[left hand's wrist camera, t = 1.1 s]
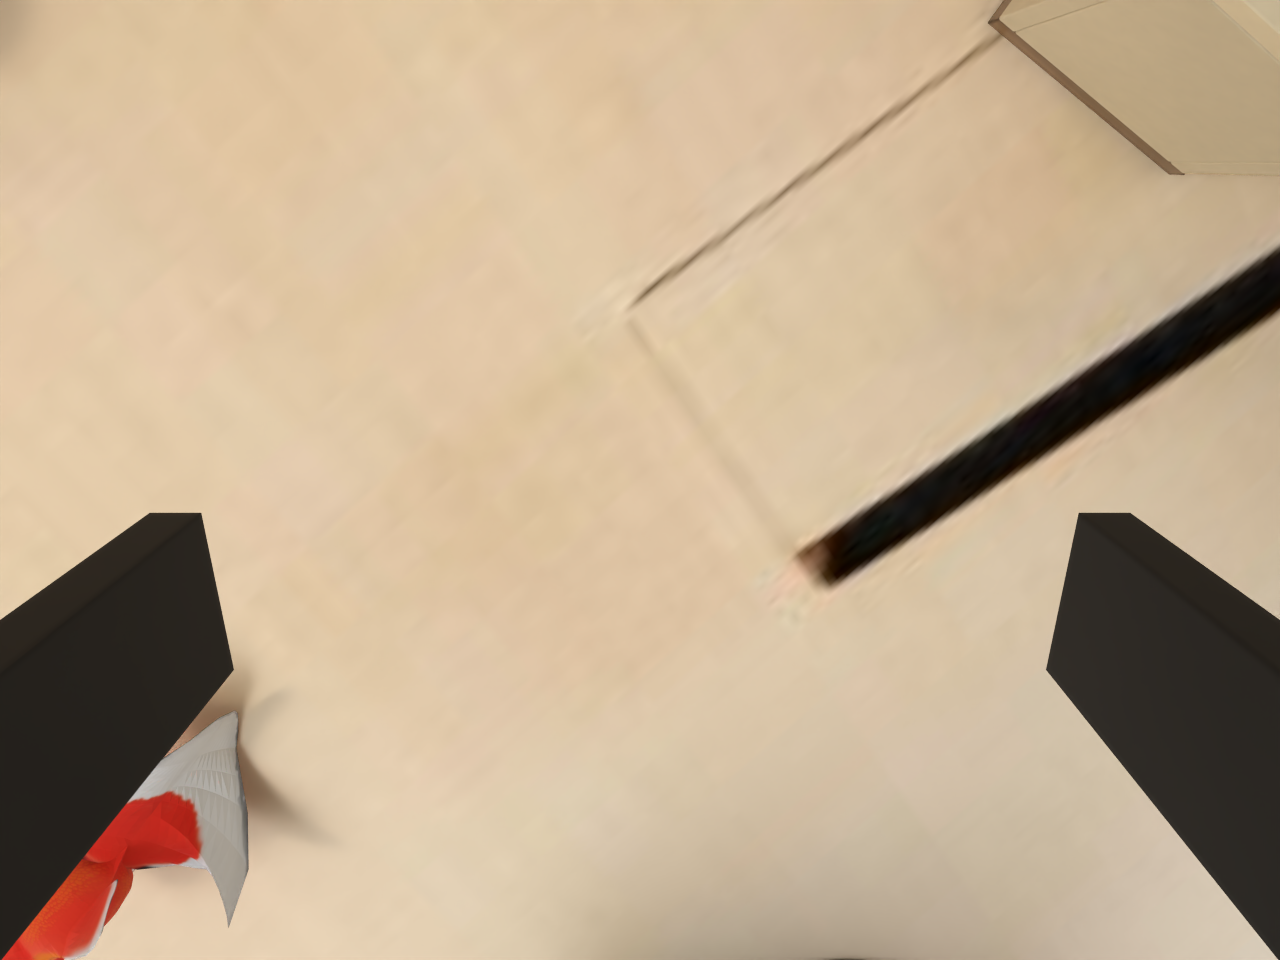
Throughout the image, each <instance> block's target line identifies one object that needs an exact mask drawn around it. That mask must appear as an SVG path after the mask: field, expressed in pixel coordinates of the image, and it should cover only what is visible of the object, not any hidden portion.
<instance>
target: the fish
mask: <svg viewBox="0 0 1280 960" xmlns="http://www.w3.org/2000/svg"><path fill="white" fill-rule="evenodd" d="M237 737H238V713H237V712H236V711H233V712H231V713H229V714H226V715H224V716H222V717H220V718H218V719H217V720H216V721H214V722H213V723H212V724H210V725H209V726H208V727H206V728H205V729H204V730H202V731H201V732H200V733H199V734H198V735H196V736H195V737H194V738H193V739H191V740H190V741H189V742H187V743H186V744H184V745H183V746H181V747H180V748H178V749H177V750H175V751H174V752H172V753H171V754H169V755H167V756H166V757H164V758H163V759H162V760H161V761H160V763H159V764H158V765H157V766H156V768H155V769H154V770H153V771H152V773H151V774H150V775H149V776H148V778H147V779H146V780H145V781H144V783H143V784H142V785H141V786H140V788H139V789H138V790H137V791H136V793H135V794H134V795H133V796H132V798H131V799H130V800H129V801H128V803H127V804H126V805H125V806H124V808H123V809H122V810H121V811H120V812H119V814H118V815H117V816H116V817H115V819H114V820H113V821H112V822H111V824H110V825H109V826H108V827H107V829H106V830H105V831H104V832H103V834H102V835H101V836H100V837H99V839H98V840H97V841H96V842H95V844H94V845H93V846H92V847H91V849H90V850H89V851H88V852H87V854H86V855H85V856H84V857H83V859H82V860H81V861H80V862H79V864H78V865H77V866H76V867H75V869H74V870H73V871H72V872H71V874H70V875H69V876H68V877H67V879H66V880H65V881H64V882H63V884H62V885H61V886H60V887H59V889H58V890H57V891H56V892H55V894H54V895H53V896H52V897H51V899H50V900H49V901H48V902H47V904H46V905H45V906H44V907H43V909H42V910H41V911H40V912H39V914H38V915H37V916H36V917H35V919H34V920H33V921H32V922H31V924H30V925H29V926H28V927H27V929H26V930H25V931H24V932H23V934H22V935H21V936H20V937H19V939H18V940H17V941H16V942H15V944H14V945H13V946H12V947H11V949H10V950H9V951H8V952H7V954H6V955H5V956H4V957H3V959H2V960H64V959H65V960H74V959H77V958H81V957H84V956H86V955H87V954H88V953H89V952H90V951H91V950H92V949H93V948H94V947H95V945H96V943H97V941H98V939H99V937H100V936H101V933H102V931H103V927H104V926H105V925H106V924H107V923H108V922H109V921H110V919H111V918H112V917H113V916H114V915H115V913H116V912H117V911H118V909H119V908H120V906H121V904H122V903H123V901H124V899H125V898H126V896H127V894H128V893H129V891H130V889H131V886H132V881H133V871H134V870H135V869H137V870H138V869H147V868H156V867H164V866H172V865H181V866H186V867H192V868H200V869H207V870H208V872H209V873H210V874H211V875H212V876H213V878H214V880H215V882H216V885H217V887H218V889H219V892H220V895H221V897H222V900H223V903H224V907H225V911H226V914H227V921H228V928H229V925H230V922H231V919H232V916H233V913H234V910H235V907H236V904H237V902H238V899H239V896H240V893H241V890H242V887H243V884H244V881H245V878H246V875H247V872H248V812H247V807H246V801H245V795H244V790H243V784H242V779H241V773H240V767H239V761H238V755H237V750H236V745H237Z"/></svg>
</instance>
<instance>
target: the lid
mask: <svg viewBox="0 0 1280 960" xmlns="http://www.w3.org/2000/svg"><path fill="white" fill-rule="evenodd" d="M1213 1H1214V2H1215V3H1216V4H1217V5H1218V6H1220V7H1221V8H1222V9H1223V10H1224V11H1225V12H1226V13H1227V14H1228V15H1229V16H1231V17H1232V18H1233V19H1234V20H1235V21H1236V22H1237V23H1238V24H1239V25H1240V26H1242V27H1243V28H1244V29H1245V30H1246V31H1247V32H1248V33H1249V34H1250V35H1252V36H1253V37H1254V38H1255V39H1256V40H1257V41H1258V42H1259V43H1260V44H1261V45H1263V46H1264V47H1265V48H1266V49H1267V50H1268V51H1269V52H1270V53H1271V54H1272V55H1274V56H1275V57H1276V58H1277V59H1278V60H1279V61H1280V0H1213Z"/></svg>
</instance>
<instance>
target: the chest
mask: <svg viewBox="0 0 1280 960" xmlns="http://www.w3.org/2000/svg"><path fill="white" fill-rule="evenodd" d="M988 24H990V25H991V26H992V27H993V28H994V29H996V30H997V31H998V32H999V33H1000V34H1002V35H1003V36H1004V37H1005V38H1006V39H1008V40H1009V41H1010V42H1011V43H1012V44H1014V45H1015V46H1016V47H1017V48H1018V49H1020V50H1021V51H1022V52H1023V53H1024V54H1026V55H1027V56H1028V57H1029V58H1030V59H1032V60H1033V61H1034V62H1035V63H1036V64H1038V65H1039V66H1040V67H1041V68H1042V69H1044V70H1045V71H1046V72H1047V73H1048V74H1050V75H1051V76H1052V77H1053V78H1054V79H1056V80H1057V81H1058V82H1059V83H1060V84H1062V85H1063V86H1064V87H1065V88H1066V89H1068V90H1069V91H1070V92H1071V93H1072V94H1074V95H1075V96H1076V97H1077V98H1078V99H1080V100H1081V101H1082V102H1083V103H1084V104H1086V105H1087V106H1088V107H1089V108H1090V109H1092V110H1093V111H1094V112H1095V113H1096V114H1098V115H1099V116H1100V117H1101V118H1102V119H1104V120H1105V121H1106V122H1107V123H1108V124H1110V125H1111V126H1112V127H1113V128H1114V129H1116V130H1117V131H1118V132H1119V133H1120V134H1122V135H1123V136H1124V137H1125V138H1126V139H1128V140H1129V141H1130V142H1131V143H1132V144H1134V145H1135V146H1136V147H1137V148H1138V149H1140V150H1141V151H1142V152H1143V153H1144V154H1146V155H1147V156H1148V157H1149V158H1150V159H1152V160H1153V161H1154V162H1155V163H1156V164H1158V165H1159V166H1160V167H1161V168H1162V169H1164V170H1165V171H1166V172H1167V173H1168V174H1173V175H1184V174H1221V175H1260V176H1280V61H1279V60H1278V59H1277V58H1276V57H1275V56H1274V55H1272V54H1271V53H1270V52H1269V51H1268V50H1267V49H1266V48H1265V47H1264V46H1263V45H1261V44H1260V43H1259V42H1258V41H1257V40H1256V39H1255V38H1254V37H1253V36H1252V35H1250V34H1249V33H1248V32H1247V31H1246V30H1245V29H1244V28H1243V27H1242V26H1240V25H1239V24H1238V23H1237V22H1236V21H1235V20H1234V19H1233V18H1232V17H1231V16H1229V15H1228V14H1227V13H1226V12H1225V11H1224V10H1223V9H1222V8H1221V7H1220V6H1218V5H1217V4H1216V3H1215V2H1214V1H1213V0H1004V1H1003V2H1002V4H1001V5H1000V7H999V8H998V9H997V11H996V12H995V14H994V15H993V16H992V18H991V19H990V21H989V22H988Z"/></svg>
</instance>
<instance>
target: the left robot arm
mask: <svg viewBox="0 0 1280 960" xmlns="http://www.w3.org/2000/svg"><path fill="white" fill-rule="evenodd" d="M233 670H234V668H233V663H232V659H231V654H230V649H229V644H228V639H227V635H226V630H225V625H224V620H223V615H222V611H221V606H220V601H219V596H218V591H217V587H216V582H215V577H214V572H213V567H212V563H211V558H210V553H209V548H208V543H207V539H206V534H205V529H204V524H203V519H202V515H201V513H149V514H148V515H146V516H145V517H144V518H142V519H141V520H139V521H138V522H137V523H135V524H134V525H132V526H131V527H130V528H128V529H127V530H125V531H124V532H123V533H121V534H120V535H118V536H117V537H116V538H114V539H113V540H111V541H110V542H109V543H107V544H106V545H104V546H103V547H102V548H100V549H99V550H97V551H96V552H95V553H93V554H92V555H90V556H89V557H88V558H86V559H85V560H83V561H82V562H81V563H79V564H78V565H76V566H75V567H74V568H72V569H71V570H69V571H68V572H67V573H65V574H64V575H62V576H61V577H60V578H58V579H57V580H55V581H54V582H53V583H51V584H50V585H48V586H47V587H46V588H44V589H43V590H41V591H40V592H39V593H37V594H36V595H34V596H33V597H32V598H30V599H29V600H28V601H26V602H25V603H23V604H22V605H21V606H19V607H18V608H16V609H15V610H14V611H12V612H11V613H9V614H8V615H7V616H5V617H4V618H2V619H1V620H0V960H2V959H3V957H4V956H5V955H6V954H7V952H8V951H9V950H10V949H11V947H12V946H13V945H14V944H15V942H16V941H17V940H18V939H19V937H20V936H21V935H22V934H23V932H24V931H25V930H26V929H27V927H28V926H29V925H30V924H31V922H32V921H33V920H34V919H35V917H36V916H37V915H38V914H39V912H40V911H41V910H42V909H43V907H44V906H45V905H46V904H47V902H48V901H49V900H50V899H51V897H52V896H53V895H54V894H55V892H56V891H57V890H58V889H59V887H60V886H61V885H62V884H63V882H64V881H65V880H66V879H67V877H68V876H69V875H70V874H71V872H72V871H73V870H74V869H75V867H76V866H77V865H78V864H79V862H80V861H81V860H82V859H83V857H84V856H85V855H86V854H87V852H88V851H89V850H90V849H91V847H92V846H93V845H94V844H95V842H96V841H97V840H98V839H99V837H100V836H101V835H102V834H103V832H104V831H105V830H106V829H107V827H108V826H109V825H110V824H111V822H112V821H113V820H114V819H115V817H116V816H117V815H118V814H119V812H120V811H121V810H122V809H123V808H124V806H125V805H126V804H127V803H128V801H129V800H130V799H131V798H132V796H133V795H134V794H135V793H136V791H137V790H138V789H139V788H140V786H141V785H142V784H143V783H144V781H145V780H146V779H147V778H148V776H149V775H150V774H151V773H152V771H153V770H154V769H155V768H156V766H157V765H158V764H159V763H160V761H161V760H162V759H163V758H164V756H165V755H166V754H167V753H168V751H169V750H170V749H171V748H172V746H173V745H174V744H175V743H176V741H177V740H178V739H179V738H180V736H181V735H182V734H183V733H184V731H185V730H186V729H187V728H188V726H189V725H190V724H191V723H192V721H193V720H194V719H195V718H196V716H197V715H198V714H199V713H200V711H201V710H202V709H203V708H204V706H205V705H206V704H207V703H208V701H209V700H210V699H211V698H212V696H213V695H214V694H215V693H216V691H217V690H218V689H219V688H220V686H221V685H222V684H223V683H224V681H225V680H226V679H227V678H228V676H229V675H230V674H231V673H232V671H233ZM1046 670H1047V671H1048V673H1049V674H1050V675H1051V676H1052V678H1053V679H1054V680H1055V681H1056V683H1057V684H1058V685H1059V686H1060V688H1061V689H1062V690H1063V691H1064V693H1065V694H1066V695H1067V696H1068V698H1069V699H1070V700H1071V701H1072V703H1073V704H1074V705H1075V706H1076V708H1077V709H1078V710H1079V711H1080V713H1081V714H1082V715H1083V716H1084V718H1085V719H1086V720H1087V721H1088V723H1089V724H1090V725H1091V726H1092V728H1093V729H1094V730H1095V731H1096V733H1097V734H1098V735H1099V736H1100V738H1101V739H1102V740H1103V741H1104V743H1105V744H1106V745H1107V746H1108V748H1109V749H1110V750H1111V751H1112V753H1113V754H1114V755H1115V756H1116V758H1117V759H1118V760H1119V761H1120V763H1121V764H1122V765H1123V766H1124V768H1125V769H1126V770H1127V771H1128V773H1129V774H1130V775H1131V776H1132V778H1133V779H1134V780H1135V781H1136V783H1137V784H1138V785H1139V786H1140V788H1141V789H1142V790H1143V791H1144V793H1145V794H1146V795H1147V796H1148V798H1149V799H1150V800H1151V801H1152V803H1153V804H1154V805H1155V806H1156V808H1157V809H1158V810H1159V811H1160V813H1161V814H1162V815H1163V816H1164V817H1165V819H1166V820H1167V821H1168V822H1169V824H1170V825H1171V826H1172V827H1173V829H1174V830H1175V831H1176V832H1177V834H1178V835H1179V836H1180V837H1181V839H1182V840H1183V841H1184V842H1185V844H1186V845H1187V846H1188V847H1189V849H1190V850H1191V851H1192V852H1193V854H1194V855H1195V856H1196V857H1197V859H1198V860H1199V861H1200V862H1201V864H1202V865H1203V866H1204V867H1205V869H1206V870H1207V871H1208V872H1209V874H1210V875H1211V876H1212V877H1213V879H1214V880H1215V881H1216V882H1217V884H1218V885H1219V886H1220V887H1221V889H1222V890H1223V891H1224V892H1225V894H1226V895H1227V896H1228V897H1229V899H1230V900H1231V901H1232V902H1233V904H1234V905H1235V906H1236V907H1237V909H1238V910H1239V911H1240V912H1241V914H1242V915H1243V916H1244V917H1245V919H1246V920H1247V921H1248V922H1249V924H1250V925H1251V926H1252V927H1253V929H1254V930H1255V931H1256V932H1257V934H1258V935H1259V936H1260V937H1261V939H1262V940H1263V941H1264V942H1265V944H1266V945H1267V946H1268V947H1269V949H1270V950H1271V951H1272V952H1273V954H1274V955H1275V956H1276V957H1277V959H1278V960H1280V620H1279V619H1278V618H1276V617H1275V616H1273V615H1272V614H1271V613H1269V612H1268V611H1266V610H1265V609H1264V608H1262V607H1261V606H1259V605H1258V604H1257V603H1255V602H1254V601H1252V600H1251V599H1250V598H1248V597H1247V596H1246V595H1244V594H1243V593H1241V592H1240V591H1239V590H1237V589H1236V588H1234V587H1233V586H1232V585H1230V584H1229V583H1227V582H1226V581H1225V580H1223V579H1222V578H1220V577H1219V576H1218V575H1216V574H1215V573H1213V572H1212V571H1211V570H1209V569H1208V568H1206V567H1205V566H1204V565H1202V564H1201V563H1199V562H1198V561H1197V560H1195V559H1194V558H1192V557H1191V556H1190V555H1188V554H1187V553H1185V552H1184V551H1183V550H1181V549H1180V548H1178V547H1177V546H1176V545H1174V544H1173V543H1171V542H1170V541H1169V540H1167V539H1166V538H1164V537H1163V536H1162V535H1160V534H1159V533H1157V532H1156V531H1155V530H1153V529H1152V528H1150V527H1149V526H1148V525H1146V524H1145V523H1143V522H1142V521H1141V520H1139V519H1138V518H1136V517H1135V516H1134V515H1132V514H1131V513H1079V515H1078V519H1077V524H1076V529H1075V534H1074V539H1073V543H1072V548H1071V553H1070V558H1069V563H1068V567H1067V572H1066V577H1065V582H1064V587H1063V591H1062V596H1061V601H1060V606H1059V611H1058V615H1057V620H1056V625H1055V630H1054V635H1053V639H1052V644H1051V649H1050V654H1049V659H1048V663H1047V668H1046Z"/></svg>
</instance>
